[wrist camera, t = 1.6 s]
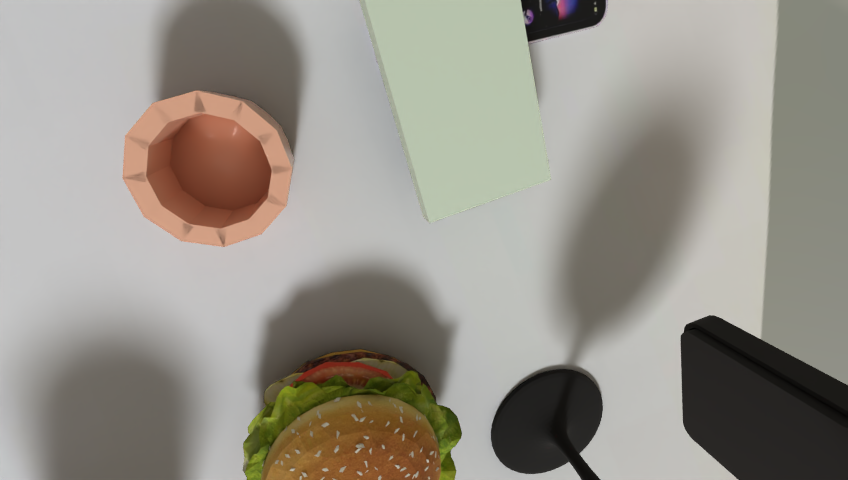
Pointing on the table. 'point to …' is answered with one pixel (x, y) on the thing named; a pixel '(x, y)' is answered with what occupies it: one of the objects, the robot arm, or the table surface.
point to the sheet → (460, 98)
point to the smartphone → (560, 17)
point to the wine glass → (548, 423)
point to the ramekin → (208, 167)
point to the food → (352, 424)
